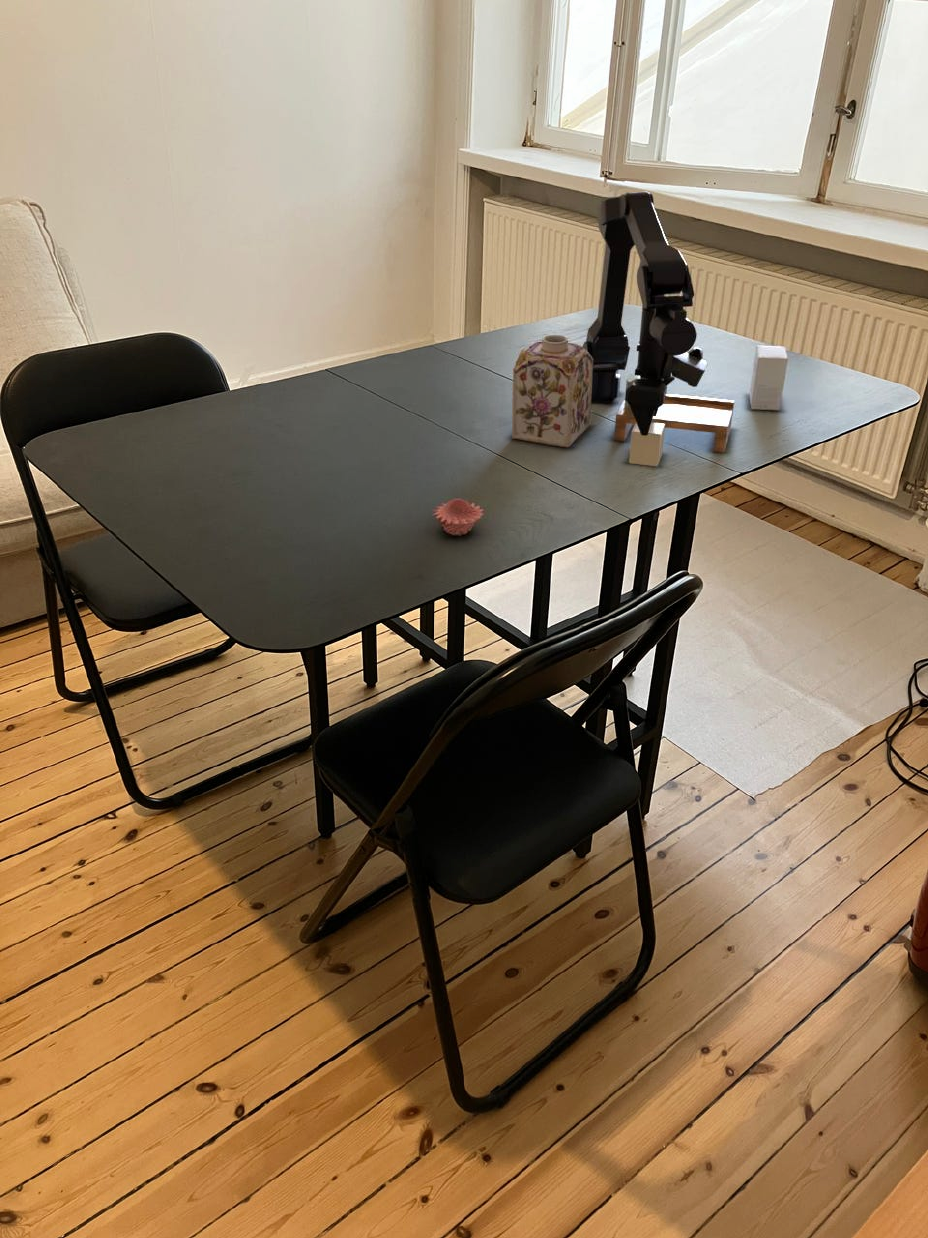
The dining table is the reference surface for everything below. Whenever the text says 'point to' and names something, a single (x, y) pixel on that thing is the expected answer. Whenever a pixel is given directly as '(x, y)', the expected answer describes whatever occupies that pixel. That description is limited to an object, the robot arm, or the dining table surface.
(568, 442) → the decorative jar
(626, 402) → the ceramic canister
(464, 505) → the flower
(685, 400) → the shelf
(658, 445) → the cream block
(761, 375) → the small box
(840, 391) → the dining table surface
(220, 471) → the dining table surface
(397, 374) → the dining table surface
